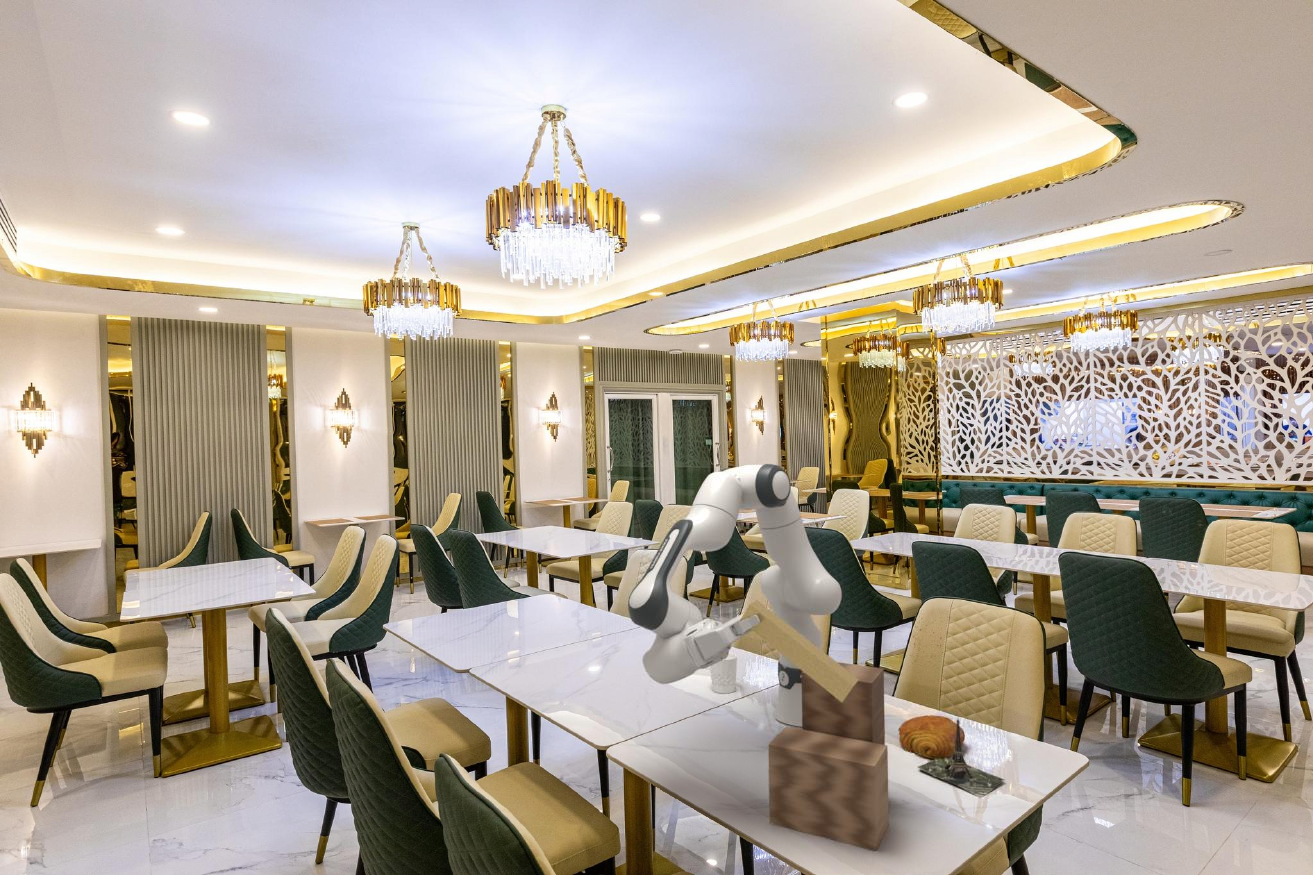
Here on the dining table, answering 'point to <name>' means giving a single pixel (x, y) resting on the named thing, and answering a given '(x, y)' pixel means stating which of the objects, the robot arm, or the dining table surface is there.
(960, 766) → the eiffel tower figurine
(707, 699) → the dining table surface
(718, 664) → the white cup
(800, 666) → the rail
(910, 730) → the croissant
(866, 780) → the stand
